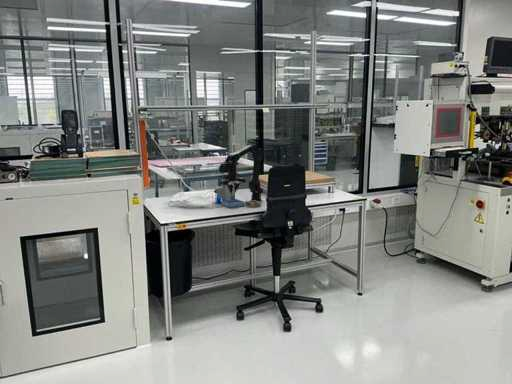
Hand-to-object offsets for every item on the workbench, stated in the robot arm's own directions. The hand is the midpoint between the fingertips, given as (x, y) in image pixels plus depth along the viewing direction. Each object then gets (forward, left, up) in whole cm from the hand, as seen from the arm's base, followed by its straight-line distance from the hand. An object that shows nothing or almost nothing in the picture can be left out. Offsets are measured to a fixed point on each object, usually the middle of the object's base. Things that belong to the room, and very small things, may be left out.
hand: (232, 193), depth 300 cm
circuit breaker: (0, -13, -9) cm, 16 cm away
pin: (0, 0, -5) cm, 5 cm away
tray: (0, 0, -9) cm, 9 cm away
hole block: (-11, +9, -9) cm, 17 cm away
